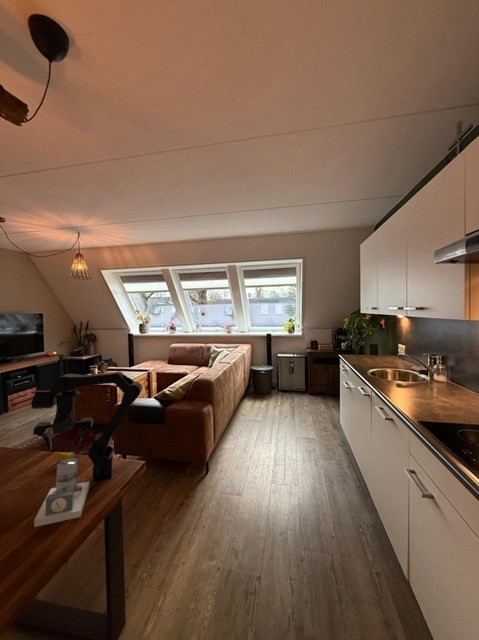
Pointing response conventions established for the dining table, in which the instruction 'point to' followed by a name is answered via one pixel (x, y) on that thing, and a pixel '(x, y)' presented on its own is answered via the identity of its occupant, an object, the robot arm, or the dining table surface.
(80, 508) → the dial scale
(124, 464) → the dining table surface
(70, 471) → the silver flared knob
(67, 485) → the silver round piece
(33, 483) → the dining table surface
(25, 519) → the dining table surface
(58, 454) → the yellow spiral cone
